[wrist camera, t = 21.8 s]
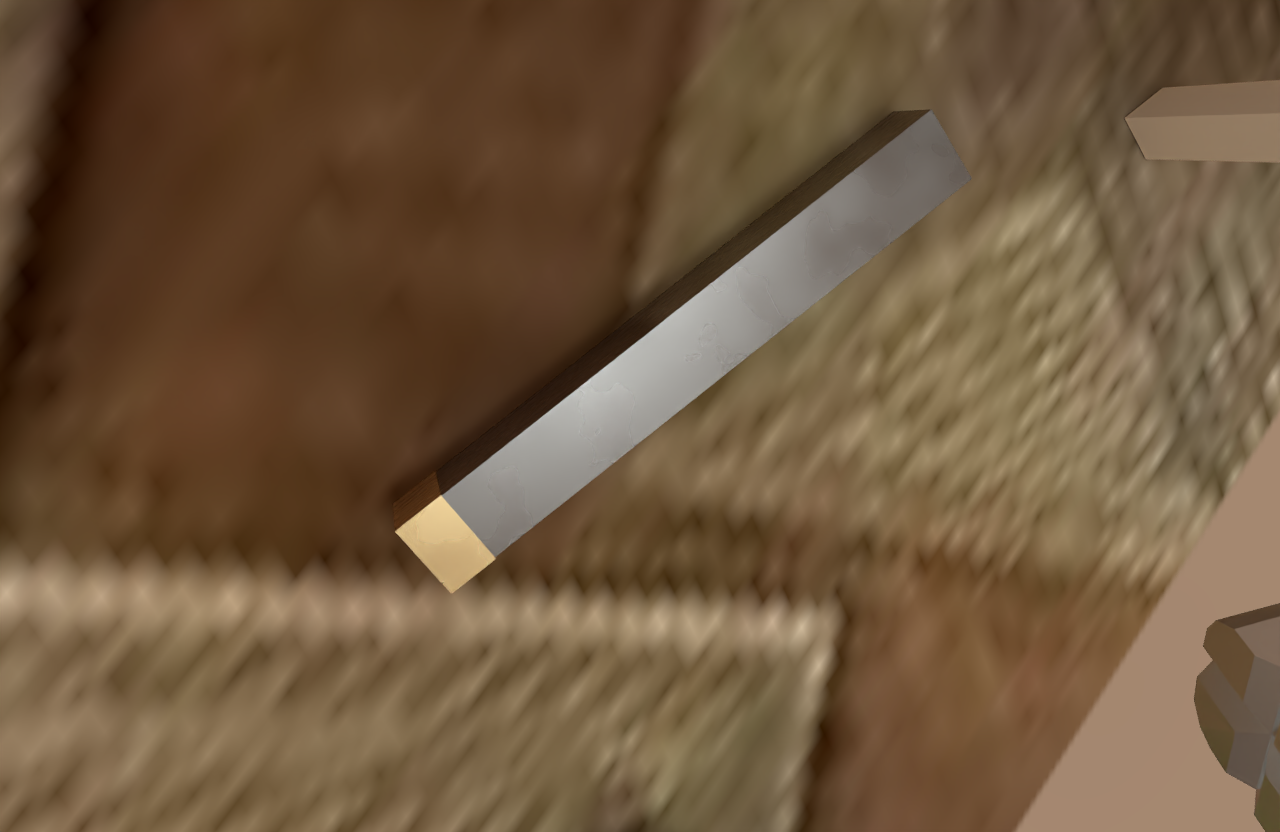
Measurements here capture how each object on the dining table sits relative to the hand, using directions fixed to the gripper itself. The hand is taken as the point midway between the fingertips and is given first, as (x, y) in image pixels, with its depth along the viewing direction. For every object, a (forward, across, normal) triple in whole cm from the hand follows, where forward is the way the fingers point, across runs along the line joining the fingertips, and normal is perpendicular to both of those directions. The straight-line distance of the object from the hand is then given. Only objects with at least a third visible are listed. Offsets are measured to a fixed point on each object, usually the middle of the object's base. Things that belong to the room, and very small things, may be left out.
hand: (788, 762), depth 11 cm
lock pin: (+29, -2, +15) cm, 33 cm away
